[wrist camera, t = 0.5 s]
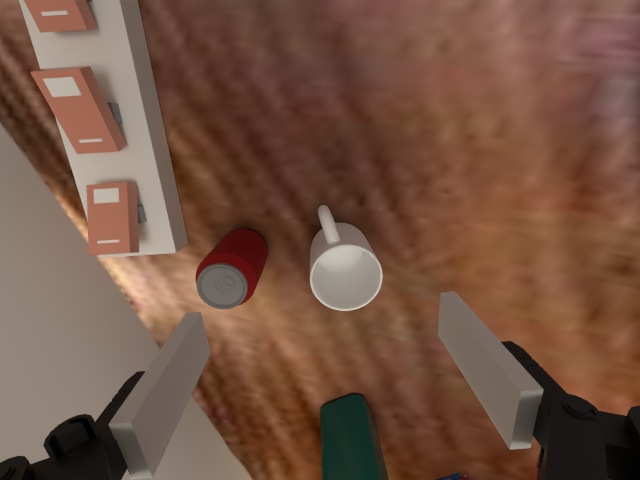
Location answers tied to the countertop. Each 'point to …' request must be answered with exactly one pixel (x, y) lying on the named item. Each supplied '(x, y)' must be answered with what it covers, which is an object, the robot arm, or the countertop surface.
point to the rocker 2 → (80, 108)
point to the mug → (342, 265)
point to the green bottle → (350, 441)
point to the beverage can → (232, 269)
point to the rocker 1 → (61, 15)
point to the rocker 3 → (112, 218)
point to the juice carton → (456, 477)
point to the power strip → (121, 117)
